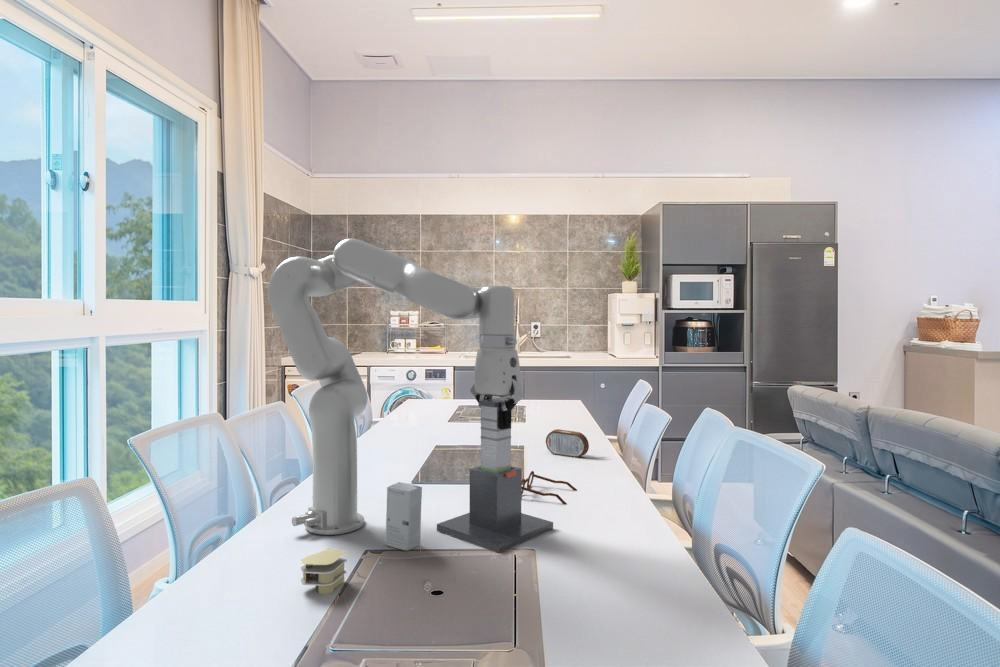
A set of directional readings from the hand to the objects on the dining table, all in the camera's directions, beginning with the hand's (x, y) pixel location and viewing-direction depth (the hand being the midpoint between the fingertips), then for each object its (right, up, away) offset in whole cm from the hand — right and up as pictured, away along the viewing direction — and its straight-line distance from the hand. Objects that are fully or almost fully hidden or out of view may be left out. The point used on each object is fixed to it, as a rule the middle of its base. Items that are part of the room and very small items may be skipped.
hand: (495, 426), depth 131 cm
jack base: (0, -23, +1) cm, 23 cm away
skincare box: (-19, -23, -8) cm, 31 cm away
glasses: (+13, -23, +27) cm, 38 cm away
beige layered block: (-29, -24, -27) cm, 47 cm away
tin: (+23, -21, +71) cm, 77 cm away
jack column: (0, -15, 0) cm, 15 cm away
